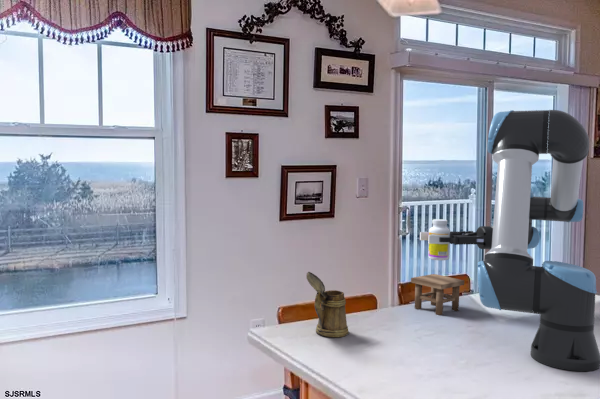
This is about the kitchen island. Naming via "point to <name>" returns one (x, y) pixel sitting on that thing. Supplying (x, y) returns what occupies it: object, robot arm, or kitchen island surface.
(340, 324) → the wooden mug
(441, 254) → the supplement bottle
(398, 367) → the kitchen island surface
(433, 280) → the stool
